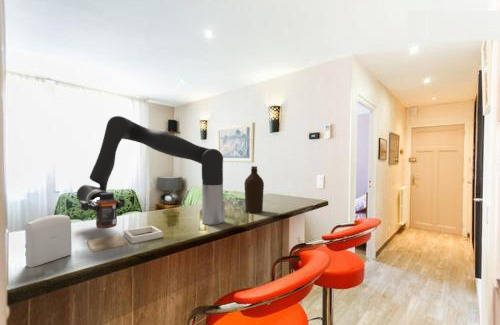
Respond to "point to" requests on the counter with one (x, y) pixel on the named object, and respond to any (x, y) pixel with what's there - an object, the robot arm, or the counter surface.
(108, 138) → the robot arm
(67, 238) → the photo printer
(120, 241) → the pad
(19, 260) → the counter surface
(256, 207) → the olive oil
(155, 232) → the white square tray
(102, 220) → the supplement bottle
